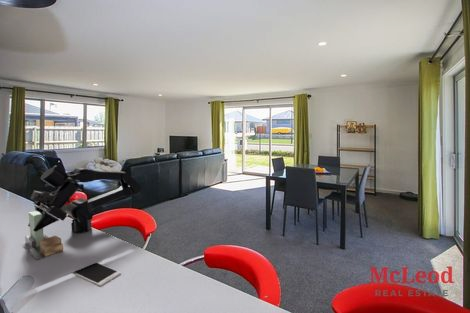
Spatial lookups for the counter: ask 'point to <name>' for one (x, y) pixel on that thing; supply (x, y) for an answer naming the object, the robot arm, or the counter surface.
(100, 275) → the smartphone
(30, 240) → the rack
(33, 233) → the pale green block
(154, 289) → the counter surface
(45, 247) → the block
